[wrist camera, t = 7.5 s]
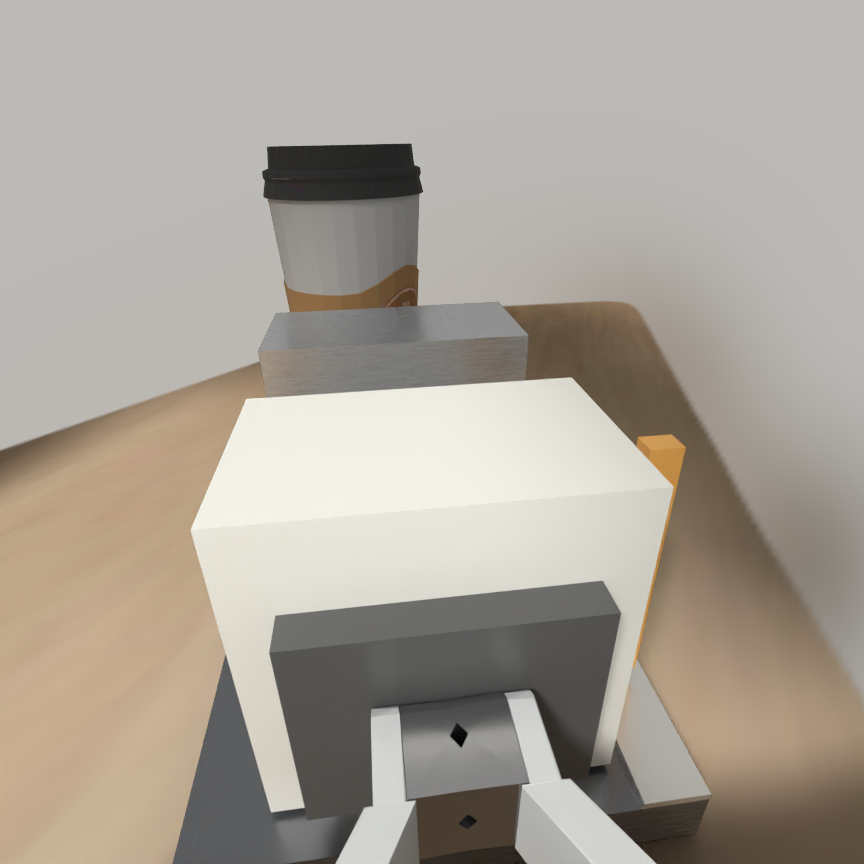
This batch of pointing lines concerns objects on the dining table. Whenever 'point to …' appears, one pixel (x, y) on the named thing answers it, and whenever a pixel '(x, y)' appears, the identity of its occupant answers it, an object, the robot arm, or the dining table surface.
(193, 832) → the base
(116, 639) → the dining table surface
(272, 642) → the cream rectangular block
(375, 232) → the coffee cup
